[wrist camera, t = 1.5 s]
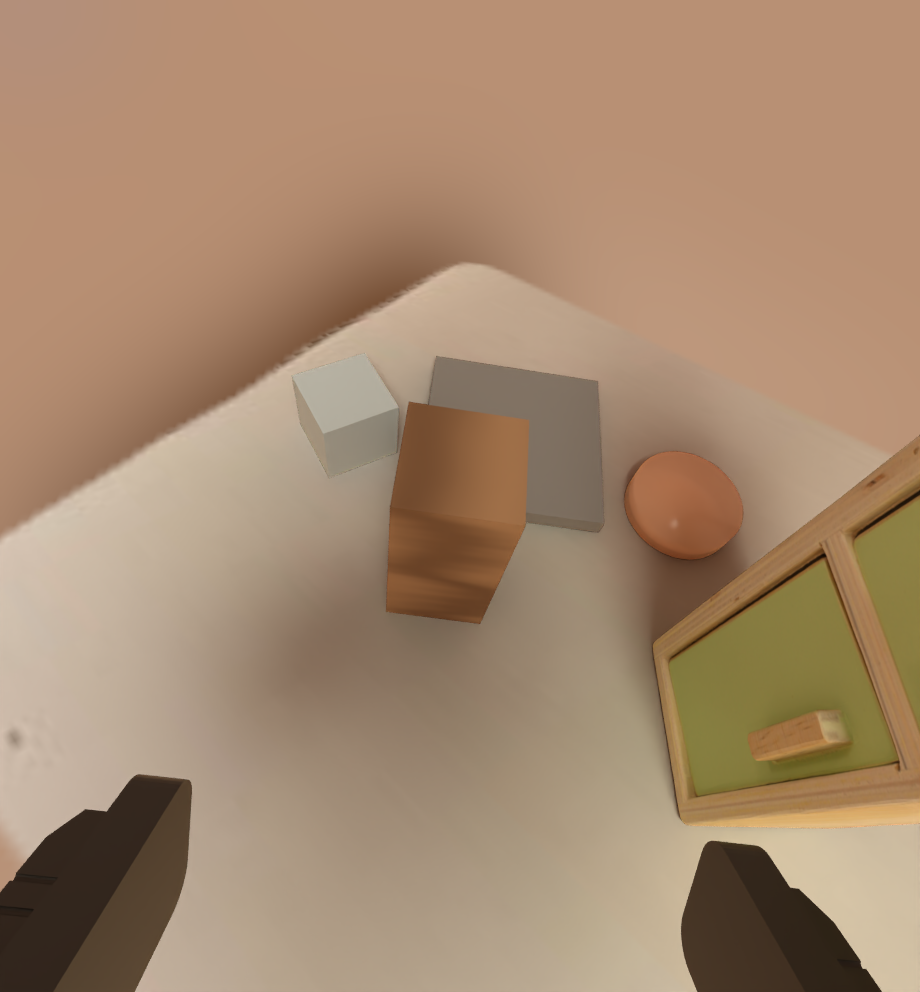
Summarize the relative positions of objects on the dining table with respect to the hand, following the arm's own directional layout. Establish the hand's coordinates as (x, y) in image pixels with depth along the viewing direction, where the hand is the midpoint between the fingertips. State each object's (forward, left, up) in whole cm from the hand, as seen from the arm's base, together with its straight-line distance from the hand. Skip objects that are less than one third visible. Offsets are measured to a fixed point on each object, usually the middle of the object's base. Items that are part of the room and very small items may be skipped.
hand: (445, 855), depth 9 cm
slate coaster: (-10, -18, -16) cm, 26 cm away
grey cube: (-1, -20, -16) cm, 26 cm away
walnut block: (-4, -11, -16) cm, 20 cm away
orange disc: (-18, -12, -16) cm, 27 cm away
